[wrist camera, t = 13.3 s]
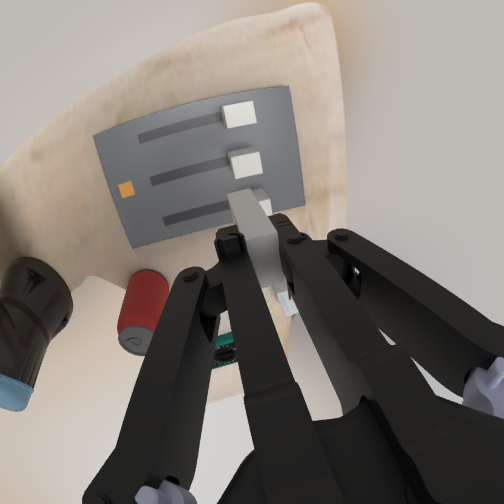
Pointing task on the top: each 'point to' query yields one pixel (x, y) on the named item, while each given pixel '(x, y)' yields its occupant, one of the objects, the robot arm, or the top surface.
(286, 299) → the small box
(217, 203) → the breaker panel
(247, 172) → the handle
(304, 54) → the top surface
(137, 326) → the beer can
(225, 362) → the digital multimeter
